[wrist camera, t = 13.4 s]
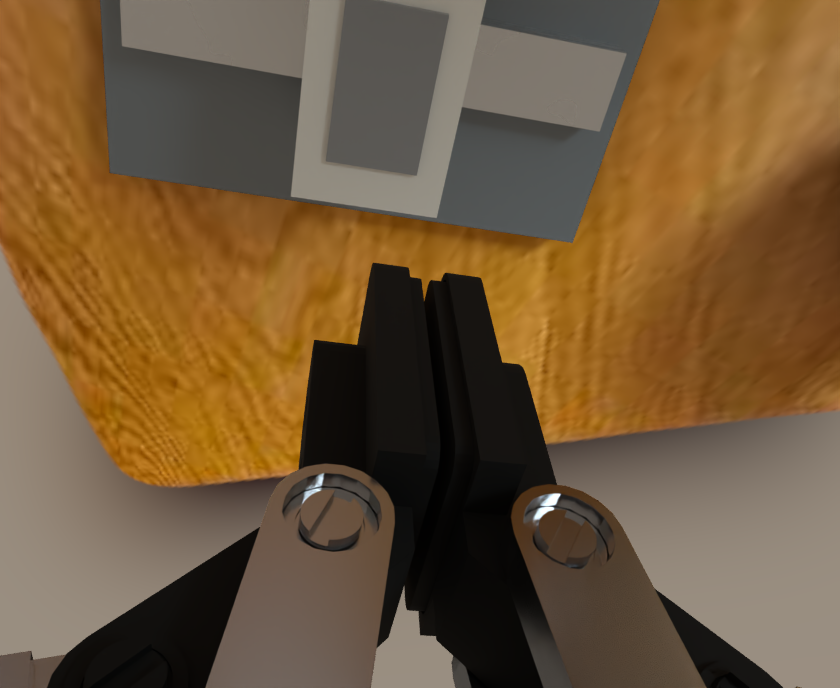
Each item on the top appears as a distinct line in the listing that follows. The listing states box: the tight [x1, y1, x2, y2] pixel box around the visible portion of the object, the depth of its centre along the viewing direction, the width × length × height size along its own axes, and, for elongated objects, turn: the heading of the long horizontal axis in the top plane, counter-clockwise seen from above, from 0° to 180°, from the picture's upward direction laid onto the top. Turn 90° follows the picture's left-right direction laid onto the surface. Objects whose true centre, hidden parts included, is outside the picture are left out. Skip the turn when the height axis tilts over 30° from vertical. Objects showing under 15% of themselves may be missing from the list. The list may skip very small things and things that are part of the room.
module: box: [291, 0, 486, 218], centre depth 25 cm, size 5×8×6 cm, turn 169°
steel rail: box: [120, 0, 627, 132], centre depth 27 cm, size 18×3×1 cm, turn 79°
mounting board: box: [100, 0, 660, 243], centre depth 28 cm, size 20×14×2 cm
